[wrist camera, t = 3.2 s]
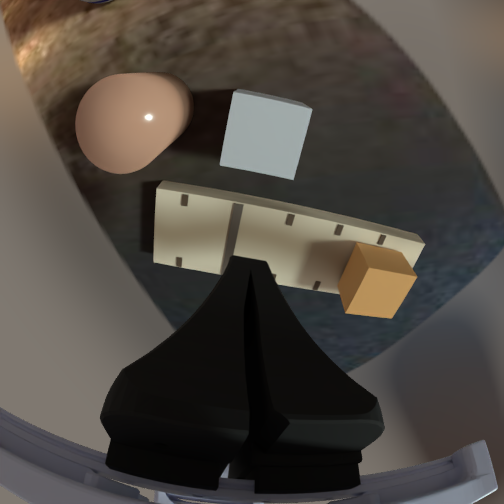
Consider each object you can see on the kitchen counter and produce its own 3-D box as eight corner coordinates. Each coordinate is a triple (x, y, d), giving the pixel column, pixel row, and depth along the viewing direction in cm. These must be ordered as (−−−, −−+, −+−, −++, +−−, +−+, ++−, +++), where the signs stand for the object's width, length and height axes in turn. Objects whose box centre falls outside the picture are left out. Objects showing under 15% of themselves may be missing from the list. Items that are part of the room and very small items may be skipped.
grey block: (286, 159, 19) (293, 179, 16) (226, 147, 19) (219, 165, 15) (301, 102, 17) (312, 109, 14) (238, 88, 17) (233, 92, 13)
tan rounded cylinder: (188, 148, 19) (161, 179, 14) (119, 140, 18) (75, 168, 13) (200, 75, 16) (174, 76, 11) (126, 70, 16) (78, 74, 11)
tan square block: (380, 292, 23) (391, 318, 20) (337, 285, 22) (345, 313, 20) (401, 252, 21) (417, 276, 18) (356, 242, 20) (368, 267, 18)
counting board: (387, 290, 25) (393, 302, 24) (158, 251, 23) (153, 262, 22) (417, 234, 22) (425, 245, 20) (163, 180, 20) (155, 189, 19)
